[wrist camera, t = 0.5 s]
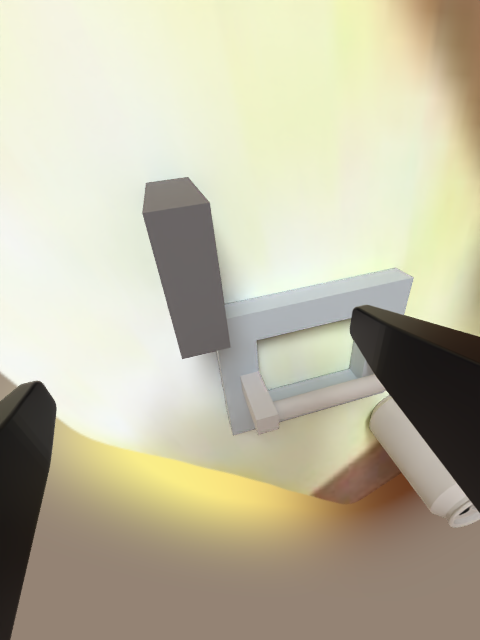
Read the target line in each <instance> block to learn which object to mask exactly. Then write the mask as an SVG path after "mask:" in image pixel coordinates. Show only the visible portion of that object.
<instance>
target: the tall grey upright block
mask: <svg viewBox="0 0 480 640" xmlns="http://www.w3.org/2000/svg"><path fill="white" fill-rule="evenodd" d="M143 217H144V221H145V224H146V228H147V232H148V235H149V239H150V243H151V246H152V250H153V254H154V257H155V261H156V264H157V268H158V272H159V275H160V279H161V283H162V286H163V290H164V294H165V297H166V301H167V305H168V308H169V312H170V316H171V319H172V323H173V327H174V330H175V334H176V338H177V341H178V345H179V349H180V352H181V356H182V359H185V358H189V357H193V356H197V355H202V354H206V353H210V352H214V351H218V350H223V349H227V348H231V346H230V339H229V332H228V325H227V318H226V311H225V304H224V298H223V291H222V284H221V277H220V270H219V263H218V256H217V250H216V243H215V236H214V229H213V222H212V215H211V208H210V202H209V201H208V200H207V199H206V198H205V197H204V195H203V194H202V193H201V192H200V191H199V190H198V188H197V187H196V186H195V185H194V184H193V183H192V181H191V180H190V179H189V178H188V177H185V178H178V179H171V180H164V181H157V182H149V183H146V188H145V196H144V204H143Z"/></svg>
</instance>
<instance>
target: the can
mask: <svg viewBox="0 0 480 640" xmlns="http://www.w3.org/2000/svg"><path fill="white" fill-rule="evenodd" d="M369 428H370V430H371V432H372V433H373V434H374V436H375V437H376V438H377V440H378V441H379V442H380V444H381V445H382V447H383V448H384V449H385V451H386V452H387V453H388V455H389V456H390V457H391V459H392V460H393V461H394V463H395V464H396V465H397V467H398V468H399V470H400V471H401V472H402V474H403V475H404V476H405V478H406V479H407V480H408V482H409V483H410V484H411V486H412V487H413V488H414V490H415V491H416V492H417V494H418V495H419V496H420V498H421V499H422V501H423V502H424V503H425V505H426V506H427V507H428V509H429V510H430V511H431V513H433V514H436V515H438V516H441V517H443V518H446V519H447V520H448V523H449V526H452V527H455V528H456V527H462V526H466V525H469V524H471V523H473V522H476V521H478V520H480V513H479V512H478V510H477V509H476V508H475V507H474V505H473V504H472V503H471V501H470V500H469V499H468V497H467V496H466V495H465V493H464V492H463V491H462V489H461V488H460V487H459V485H458V484H457V483H456V482H455V480H454V479H453V478H452V476H451V475H450V474H449V472H448V471H447V470H446V468H445V467H444V466H443V464H442V463H441V462H440V460H439V459H438V458H437V456H436V455H435V454H434V453H433V451H432V450H431V449H430V447H429V446H428V445H427V443H426V442H425V441H424V439H423V438H422V437H421V435H420V434H419V433H418V431H417V430H416V429H415V428H414V426H413V425H412V424H411V422H410V421H409V420H408V418H407V417H406V416H405V414H404V413H403V412H402V410H401V409H400V408H399V406H398V405H397V404H396V402H395V401H394V400H393V399H392V397H391V396H390V395H389V396H388V397H386V398H384V399H383V400H382V401H381V402H379V403H378V404H377V406H376V407H375V408H374V409H373V412H372V414H371V419H370V425H369Z"/></svg>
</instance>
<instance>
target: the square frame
mask: <svg viewBox="0 0 480 640" xmlns="http://www.w3.org/2000/svg"><path fill="white" fill-rule="evenodd" d="M413 278H414V277H412V276H410V275H408V274H406V273H405V272H403V271H401V270H399V269H397V268H393V269H388V270H384V271H379V272H374V273H370V274H365V275H360V276H355V277H351V278H346V279H341V280H337V281H332V282H327V283H323V284H318V285H313V286H308V287H304V288H299V289H294V290H290V291H285V292H280V293H276V294H271V295H266V296H262V297H257V298H252V299H247V300H243V301H238V302H233V303H229V304H225V311H226V318H227V325H228V332H229V339H230V346H231V348H227V349H223V350H218V351H216V352H217V358H218V363H219V369H220V374H221V380H222V385H223V391H224V396H225V402H226V407H227V412H228V418H229V422H230V425H231V429H232V433H233V435H236V434H240V433H243V432H247V431H250V430H254V429H256V431H257V434H258V435H259V434H262V433H266V432H269V431H272V430H276V429H279V422H282V421H285V420H289V419H292V418H296V417H299V416H303V415H306V414H310V413H313V412H317V411H320V410H323V409H327V408H330V407H334V406H337V405H341V404H344V403H348V402H351V401H355V400H358V399H362V398H365V397H369V396H372V395H376V394H379V393H383V392H384V391H386V389H385V388H384V387H383V385H382V384H381V383H380V381H379V380H378V379H377V377H376V376H375V374H374V373H373V371H372V370H371V368H370V366H369V365H368V363H367V361H366V360H365V358H364V357H363V355H362V353H361V352H360V350H359V348H358V347H357V345H356V343H355V342H353V348H352V355H351V361H350V368H349V369H346V370H342V371H339V372H335V373H331V374H327V375H324V376H320V377H316V378H312V379H309V380H305V381H301V382H297V383H294V384H290V385H286V386H282V387H279V388H275V389H271V390H267V388H266V386H265V383H264V381H263V379H262V377H261V375H260V372H259V365H258V353H257V341H256V340H260V339H264V338H269V337H273V336H277V335H281V334H286V333H290V332H294V331H298V330H302V329H307V328H311V327H315V326H319V325H324V324H328V323H332V322H336V321H340V320H345V319H349V318H351V317H352V311H353V309H354V308H355V307H357V306H362V305H371V306H374V307H378V308H381V309H385V310H388V311H392V312H395V313H399V314H402V315H404V313H405V309H406V305H407V301H408V297H409V293H410V290H411V286H412V282H413Z"/></svg>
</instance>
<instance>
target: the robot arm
mask: <svg viewBox="0 0 480 640" xmlns="http://www.w3.org/2000/svg"><path fill="white" fill-rule="evenodd" d="M350 334H351V336H352V338H353V340H354V342H355V343H356V345H357V347H358V348H359V350H360V352H361V353H362V355H363V357H364V358H365V360H366V361H367V363H368V365H369V366H370V368H371V370H372V371H373V373H374V374H375V376H376V377H377V379H378V380H379V381H380V383H381V384H382V385H383V387H384V388H385V389H386V391H387V392H388V393H389V395H390V396H391V397H392V399H393V400H394V401H395V402H396V404H397V405H398V406H399V408H400V409H401V410H402V412H403V413H404V414H405V416H406V417H407V418H408V420H409V421H410V422H411V424H412V425H413V426H414V428H415V429H416V430H417V431H418V433H419V434H420V435H421V437H422V438H423V439H424V441H425V442H426V443H427V445H428V446H429V447H430V449H431V450H432V451H433V453H434V454H435V455H436V456H437V458H438V459H439V460H440V462H441V463H442V464H443V466H444V467H445V468H446V470H447V471H448V472H449V474H450V475H451V476H452V478H453V479H454V480H455V482H456V483H457V484H458V485H459V487H460V488H461V489H462V491H463V492H464V493H465V495H466V496H467V497H468V499H469V500H470V501H471V503H472V504H473V505H474V507H475V508H476V509H477V510H478V512H479V513H480V337H478V336H475V335H471V334H468V333H464V332H461V331H457V330H454V329H451V328H447V327H444V326H440V325H437V324H433V323H430V322H426V321H423V320H419V319H416V318H412V317H409V316H405V315H402V314H399V313H395V312H392V311H388V310H385V309H381V308H378V307H374V306H371V305H362V306H357V307H355V308H354V309H353V311H352V317H351V324H350ZM55 419H56V403H55V401H54V399H53V398H52V396H51V395H50V393H49V392H48V390H47V389H46V387H45V386H44V384H43V383H42V382H40V381H33V382H28V383H24V384H21V385H20V386H18V387H17V388H16V389H15V390H13V391H12V392H11V393H10V394H9V395H7V396H6V397H5V398H4V399H2V400H1V401H0V640H10V638H11V634H12V630H13V625H14V621H15V616H16V612H17V608H18V603H19V599H20V595H21V590H22V585H23V582H24V577H25V573H26V569H27V564H28V560H29V556H30V551H31V547H32V543H33V538H34V533H35V529H36V525H37V521H38V516H39V512H40V508H41V503H42V499H43V494H44V490H45V486H46V481H47V477H48V473H49V468H50V462H51V455H52V446H53V437H54V428H55Z"/></svg>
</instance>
